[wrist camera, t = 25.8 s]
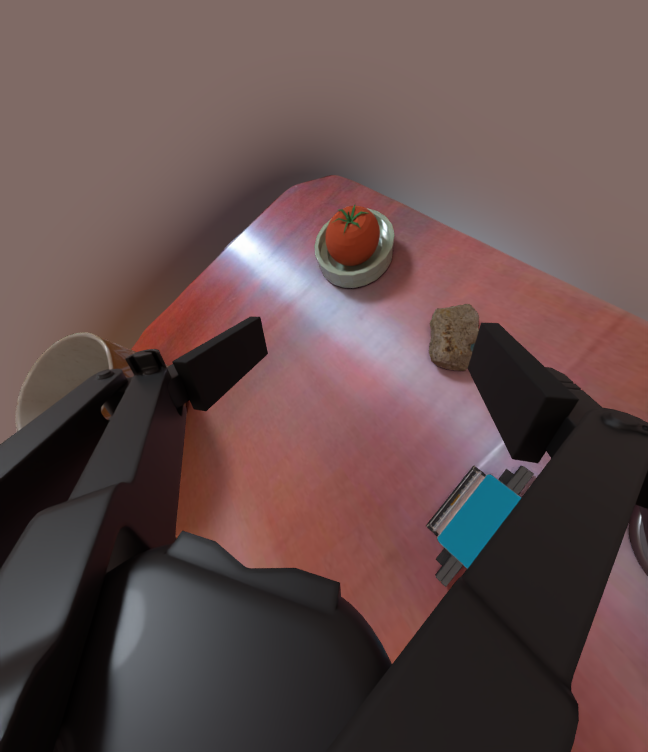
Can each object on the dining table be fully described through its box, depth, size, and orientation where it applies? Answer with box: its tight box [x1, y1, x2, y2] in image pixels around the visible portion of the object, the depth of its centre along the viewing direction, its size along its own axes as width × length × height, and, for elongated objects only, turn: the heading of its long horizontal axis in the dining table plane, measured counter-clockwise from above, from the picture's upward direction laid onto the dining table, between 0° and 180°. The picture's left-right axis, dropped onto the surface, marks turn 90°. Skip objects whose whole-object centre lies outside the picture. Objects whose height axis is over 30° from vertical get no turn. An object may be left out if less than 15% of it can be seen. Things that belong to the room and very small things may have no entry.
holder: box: [315, 208, 394, 288], centre depth 46 cm, size 15×15×4 cm
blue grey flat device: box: [426, 466, 534, 587], centre depth 32 cm, size 20×12×2 cm, turn 139°
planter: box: [15, 333, 186, 432], centre depth 43 cm, size 19×19×16 cm
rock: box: [429, 304, 479, 371], centre depth 38 cm, size 8×11×4 cm
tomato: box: [325, 205, 380, 266], centre depth 43 cm, size 10×10×10 cm
